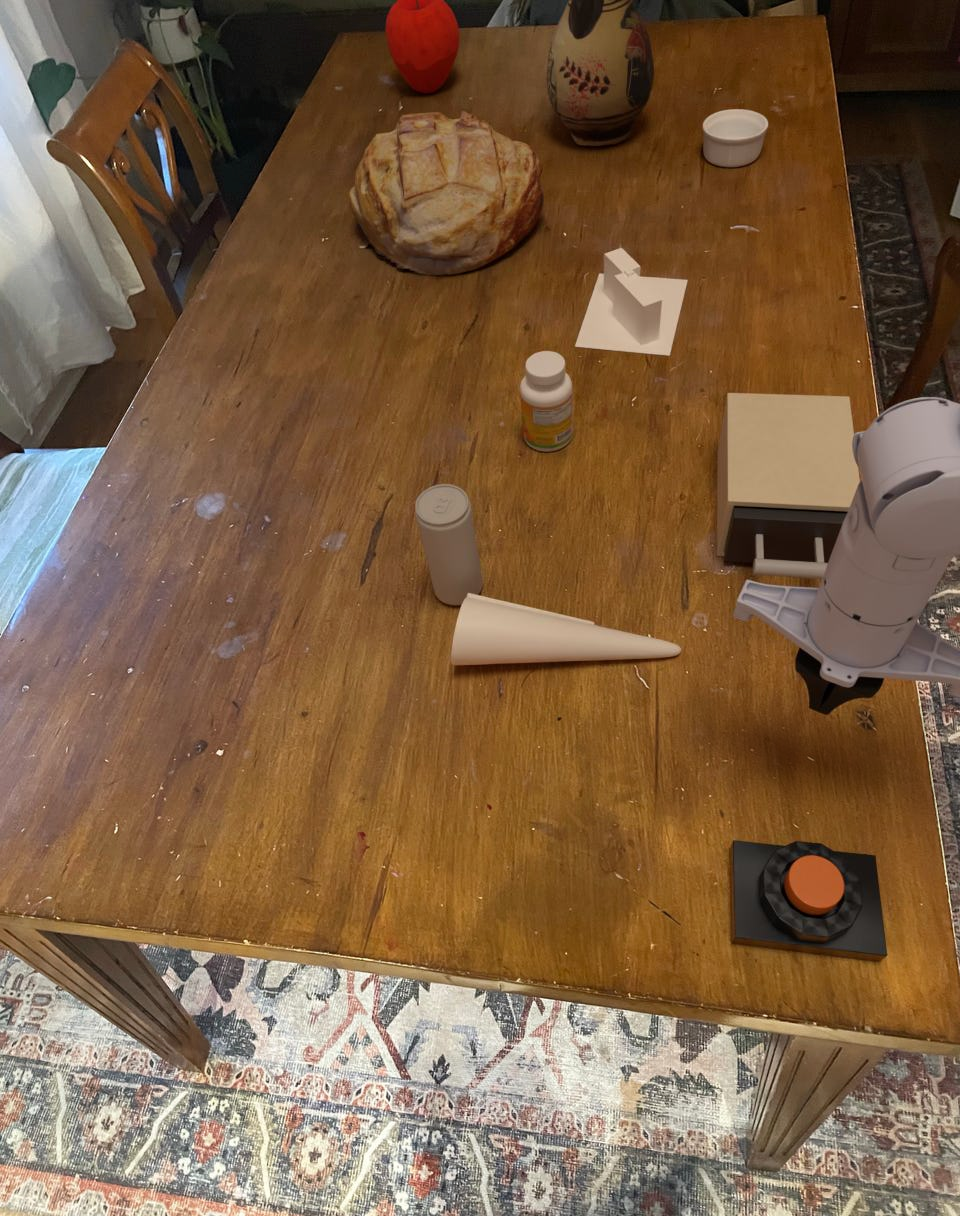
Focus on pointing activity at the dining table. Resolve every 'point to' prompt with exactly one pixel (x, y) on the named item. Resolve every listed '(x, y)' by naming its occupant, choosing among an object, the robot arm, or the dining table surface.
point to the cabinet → (784, 455)
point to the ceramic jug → (600, 70)
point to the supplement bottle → (546, 402)
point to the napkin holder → (631, 309)
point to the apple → (422, 42)
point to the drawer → (783, 540)
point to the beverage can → (449, 542)
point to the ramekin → (733, 137)
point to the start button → (814, 885)
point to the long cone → (541, 637)
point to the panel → (781, 925)
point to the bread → (445, 193)
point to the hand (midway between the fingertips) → (822, 700)
